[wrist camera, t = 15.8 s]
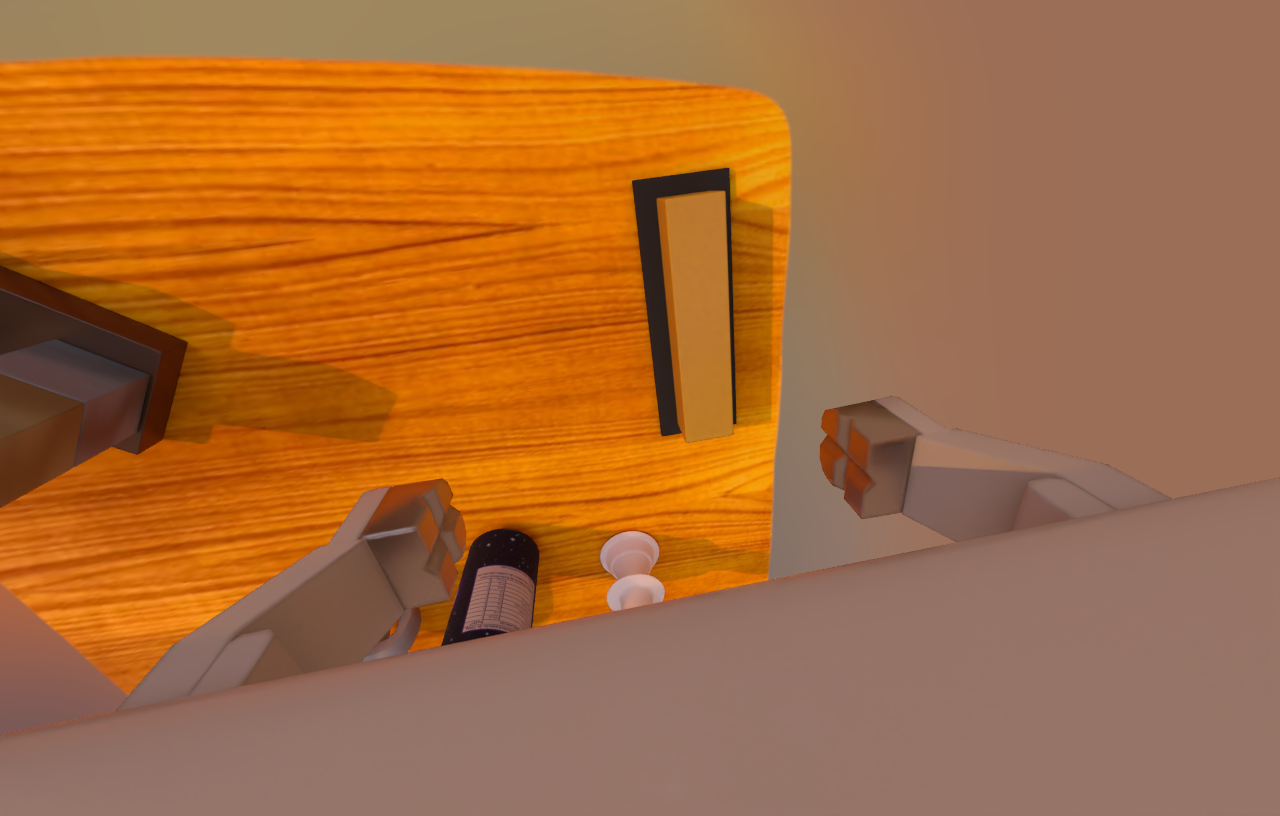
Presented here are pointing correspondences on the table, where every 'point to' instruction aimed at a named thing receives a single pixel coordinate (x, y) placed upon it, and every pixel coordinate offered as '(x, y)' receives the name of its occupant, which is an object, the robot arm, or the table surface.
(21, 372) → the tower
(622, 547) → the candle
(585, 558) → the table surface
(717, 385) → the bar
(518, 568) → the beverage can
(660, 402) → the mat
